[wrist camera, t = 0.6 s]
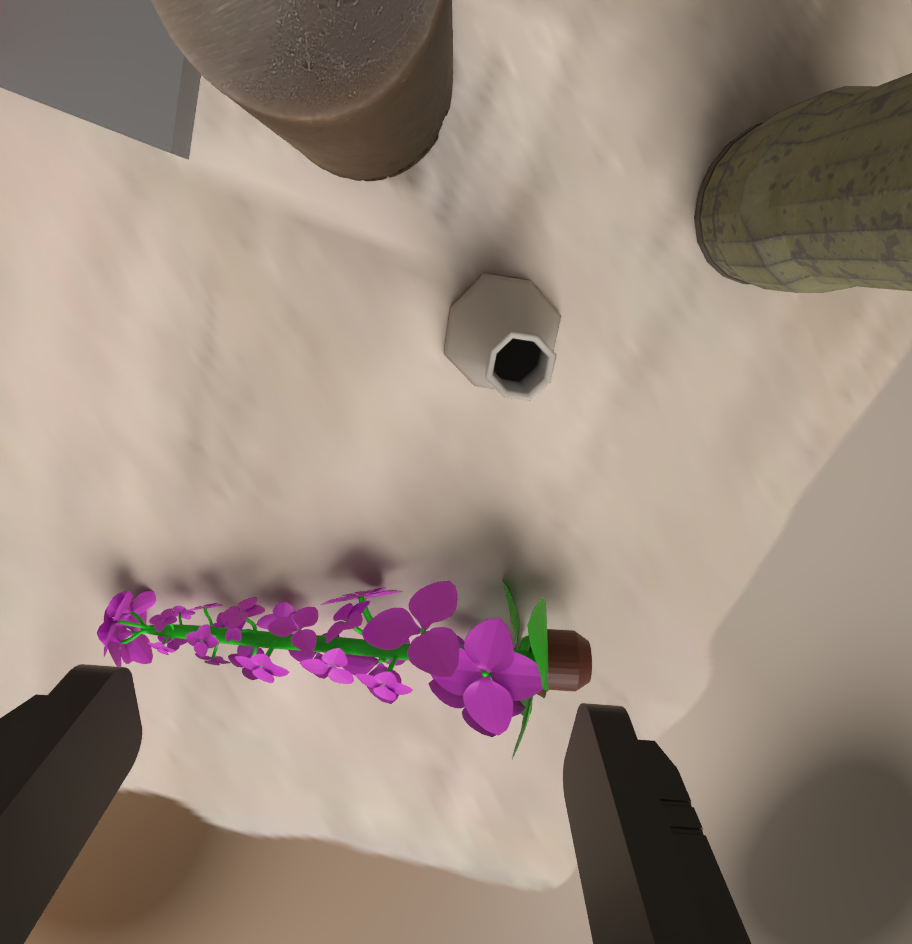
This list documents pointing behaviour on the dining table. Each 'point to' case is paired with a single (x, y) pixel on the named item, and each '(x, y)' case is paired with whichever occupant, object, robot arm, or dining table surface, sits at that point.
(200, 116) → the dining table surface
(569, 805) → the robot arm
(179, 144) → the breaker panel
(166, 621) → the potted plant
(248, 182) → the dining table surface
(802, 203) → the thermos
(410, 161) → the pillar candle
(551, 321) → the flask
